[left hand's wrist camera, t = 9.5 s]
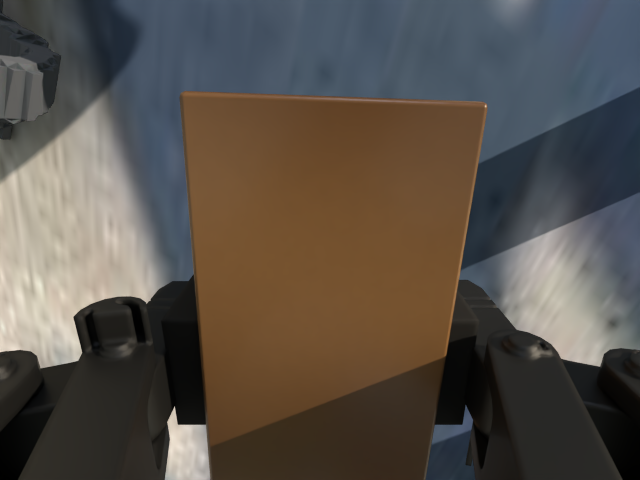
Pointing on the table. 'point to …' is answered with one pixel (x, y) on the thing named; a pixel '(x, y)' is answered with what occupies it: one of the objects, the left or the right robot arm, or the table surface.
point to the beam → (325, 276)
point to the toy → (24, 75)
